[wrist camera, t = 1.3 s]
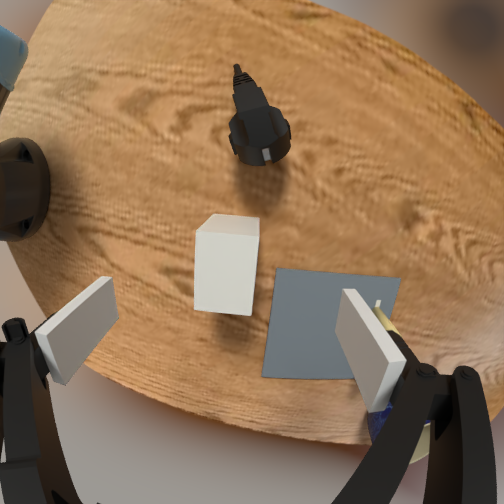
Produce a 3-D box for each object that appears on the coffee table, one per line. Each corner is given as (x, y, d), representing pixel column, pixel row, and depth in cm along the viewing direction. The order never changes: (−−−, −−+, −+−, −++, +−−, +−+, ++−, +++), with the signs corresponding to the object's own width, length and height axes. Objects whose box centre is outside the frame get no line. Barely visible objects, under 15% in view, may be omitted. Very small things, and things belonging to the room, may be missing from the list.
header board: (261, 374, 37) (261, 413, 30) (276, 267, 32) (281, 295, 25) (367, 376, 37) (382, 409, 30) (399, 277, 32) (427, 302, 25)
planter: (401, 424, 41) (419, 464, 30) (349, 424, 40) (362, 472, 30) (436, 377, 37) (464, 417, 27) (384, 373, 37) (410, 423, 26)
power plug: (260, 54, 25) (295, 118, 20) (270, 103, 32) (300, 173, 27) (209, 68, 25) (225, 137, 21) (227, 115, 32) (245, 189, 28)
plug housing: (210, 273, 33) (194, 309, 24) (213, 213, 31) (195, 230, 22) (253, 277, 33) (252, 315, 24) (259, 217, 31) (260, 236, 22)
